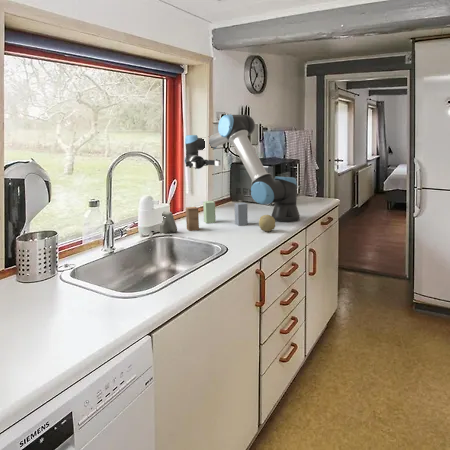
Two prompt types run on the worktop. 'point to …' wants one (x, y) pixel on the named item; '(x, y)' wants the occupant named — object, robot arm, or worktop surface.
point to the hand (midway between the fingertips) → (207, 164)
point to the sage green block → (209, 212)
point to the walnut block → (192, 218)
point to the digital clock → (168, 223)
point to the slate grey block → (241, 214)
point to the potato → (267, 223)
